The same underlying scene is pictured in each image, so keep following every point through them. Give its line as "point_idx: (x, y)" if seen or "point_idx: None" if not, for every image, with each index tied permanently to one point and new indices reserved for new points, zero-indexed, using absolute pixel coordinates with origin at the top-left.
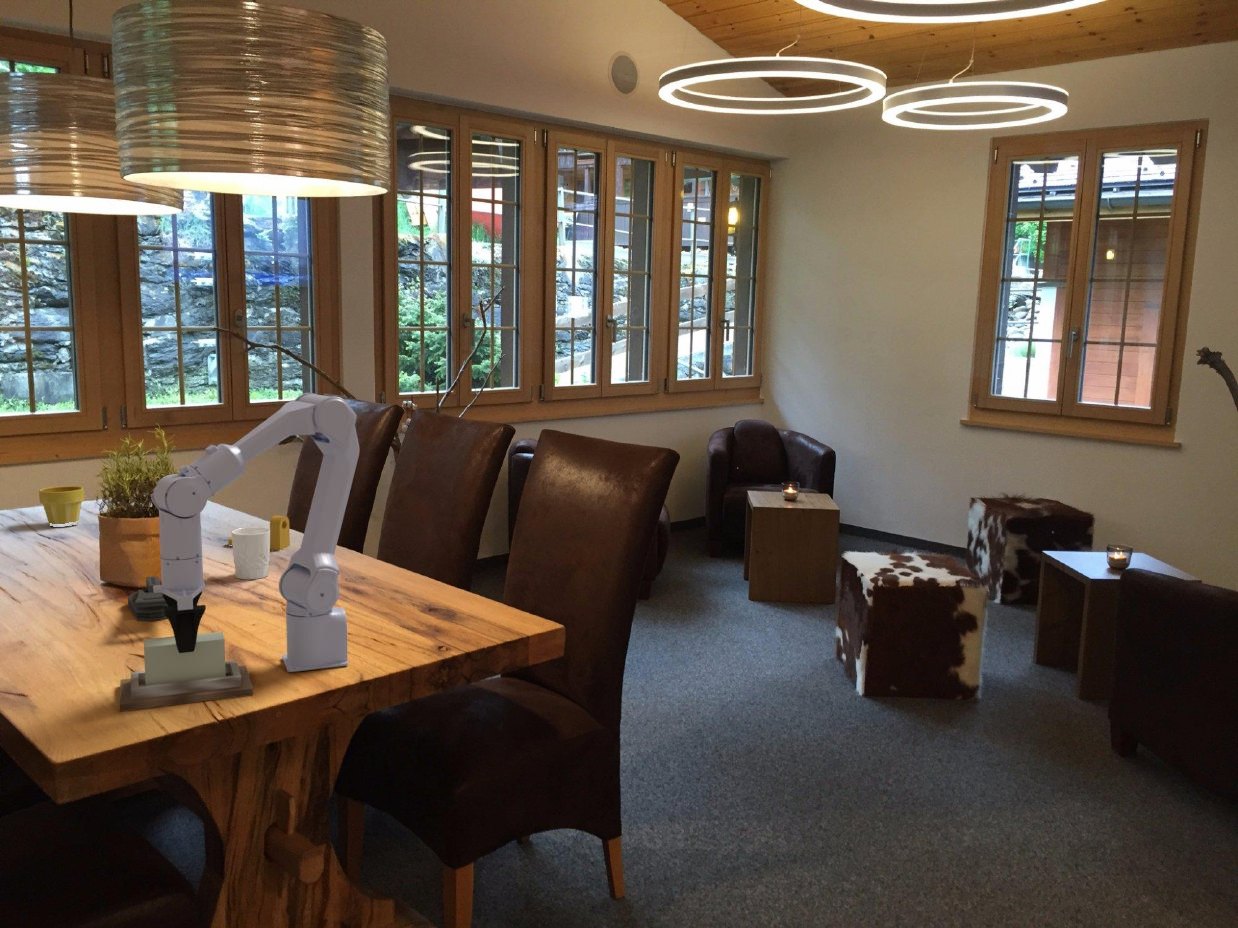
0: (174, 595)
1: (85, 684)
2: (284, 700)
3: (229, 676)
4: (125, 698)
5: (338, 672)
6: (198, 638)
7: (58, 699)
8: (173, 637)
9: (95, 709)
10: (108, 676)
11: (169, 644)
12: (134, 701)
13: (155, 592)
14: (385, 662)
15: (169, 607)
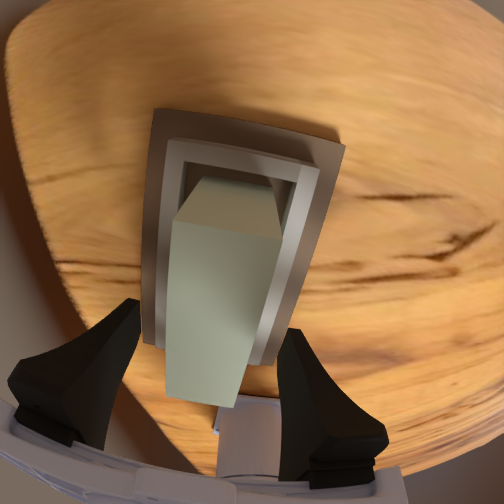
0: (12, 451)
1: (398, 85)
2: None
3: (165, 335)
4: (192, 125)
5: (196, 420)
6: (197, 365)
7: (327, 10)
8: (246, 323)
9: (205, 61)
10: (420, 143)
11: (169, 297)
12: (159, 142)
13: (139, 468)
14: (208, 447)
15: (43, 404)
